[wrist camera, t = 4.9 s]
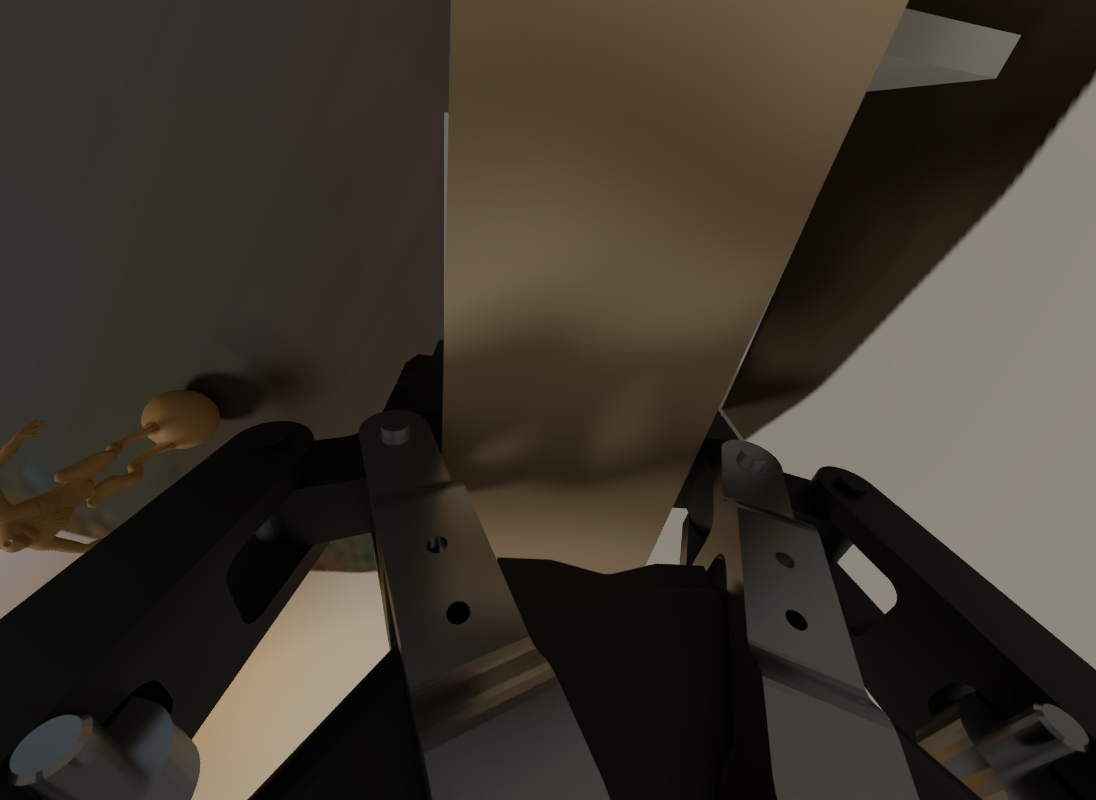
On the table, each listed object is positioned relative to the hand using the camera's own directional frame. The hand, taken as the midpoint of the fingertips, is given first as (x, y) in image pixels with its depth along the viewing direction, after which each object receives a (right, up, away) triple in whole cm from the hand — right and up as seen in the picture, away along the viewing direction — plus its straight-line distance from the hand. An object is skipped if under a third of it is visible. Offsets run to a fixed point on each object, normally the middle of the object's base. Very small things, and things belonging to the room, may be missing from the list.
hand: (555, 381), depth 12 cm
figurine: (-26, -1, +17) cm, 32 cm away
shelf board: (0, -1, -1) cm, 1 cm away
